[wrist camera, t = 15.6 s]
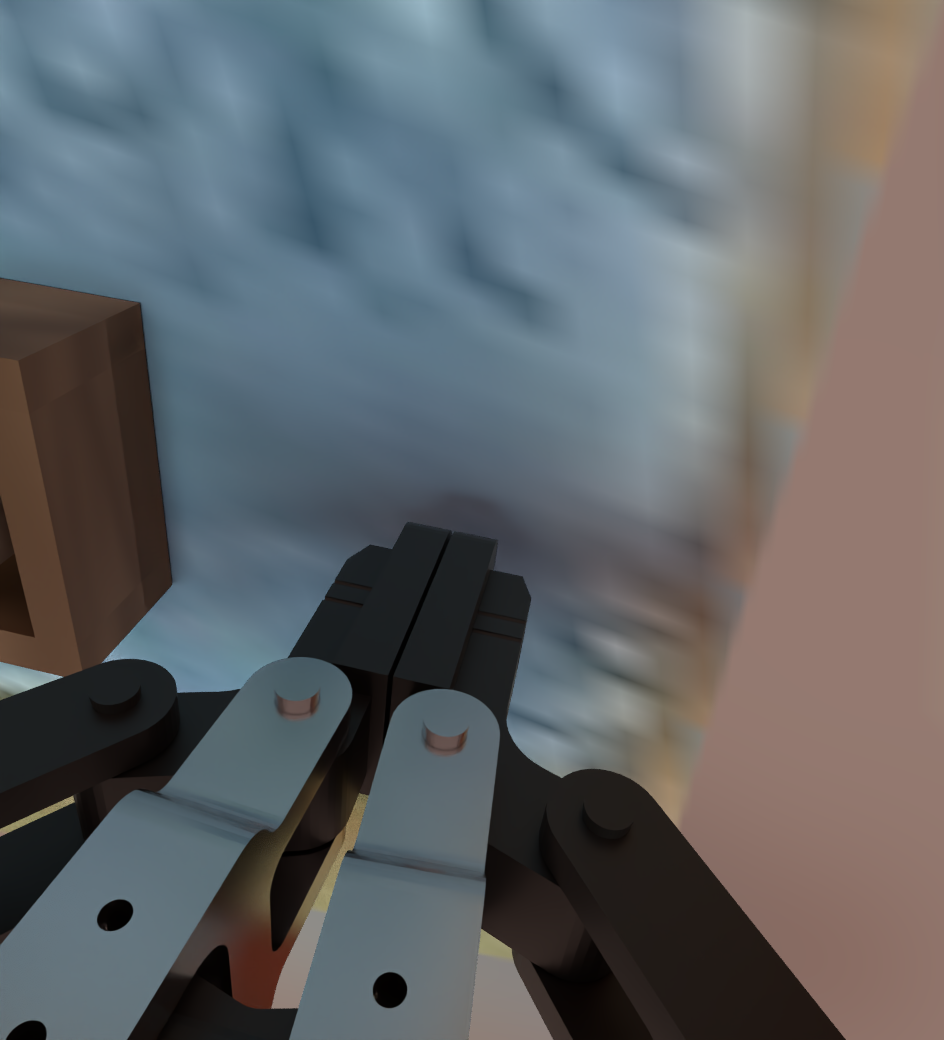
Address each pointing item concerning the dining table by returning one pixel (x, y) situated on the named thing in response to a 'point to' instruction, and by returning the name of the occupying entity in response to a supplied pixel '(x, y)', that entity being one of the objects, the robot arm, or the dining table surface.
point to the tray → (75, 478)
